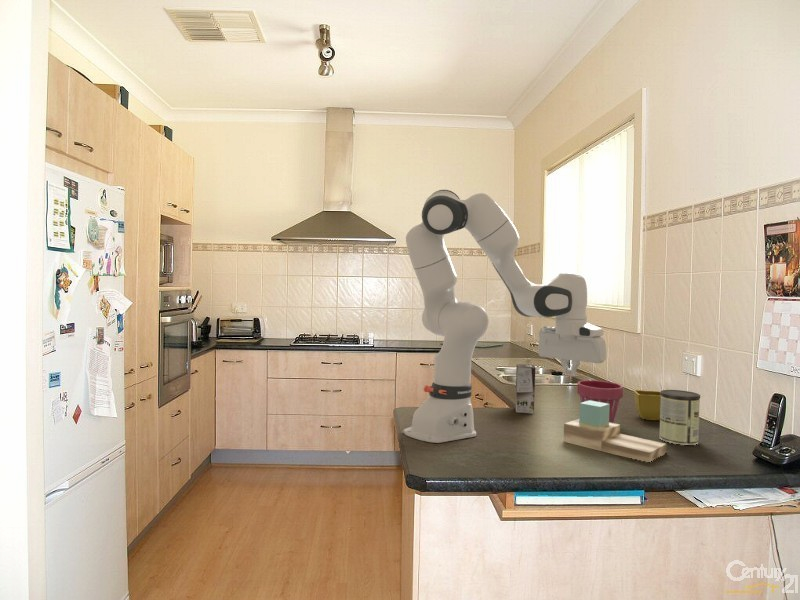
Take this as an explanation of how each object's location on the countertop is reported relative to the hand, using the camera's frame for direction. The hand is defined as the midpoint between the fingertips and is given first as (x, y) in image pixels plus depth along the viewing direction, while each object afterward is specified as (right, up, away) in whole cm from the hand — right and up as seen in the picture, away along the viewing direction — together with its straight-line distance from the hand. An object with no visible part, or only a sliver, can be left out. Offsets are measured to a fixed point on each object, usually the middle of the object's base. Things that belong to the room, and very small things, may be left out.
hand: (570, 375), depth 153 cm
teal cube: (+5, -13, -6) cm, 15 cm away
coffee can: (+31, -19, -1) cm, 37 cm away
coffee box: (-6, -18, +32) cm, 37 cm away
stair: (+9, -19, -9) cm, 23 cm away
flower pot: (+35, -19, +25) cm, 47 cm away
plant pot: (+15, -19, +18) cm, 30 cm away
